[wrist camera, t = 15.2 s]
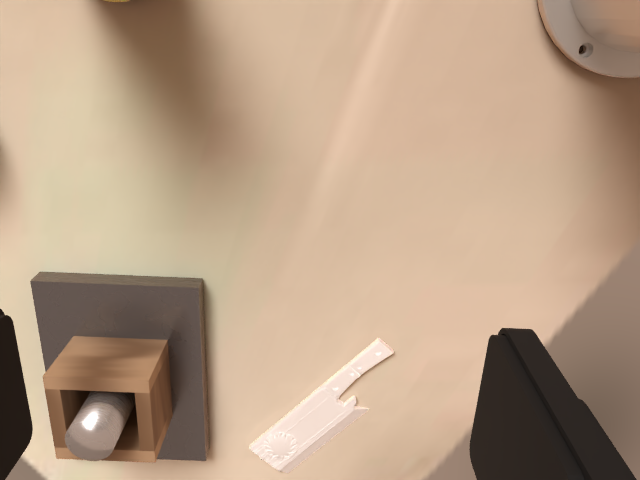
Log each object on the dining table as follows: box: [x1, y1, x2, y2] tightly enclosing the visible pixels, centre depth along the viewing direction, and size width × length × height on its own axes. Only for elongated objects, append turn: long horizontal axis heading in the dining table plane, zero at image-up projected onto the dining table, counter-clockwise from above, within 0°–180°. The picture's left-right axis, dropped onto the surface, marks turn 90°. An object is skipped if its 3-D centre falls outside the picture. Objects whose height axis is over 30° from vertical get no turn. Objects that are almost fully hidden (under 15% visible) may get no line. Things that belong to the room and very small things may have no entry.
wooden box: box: [43, 336, 173, 462], centre depth 41 cm, size 7×7×5 cm
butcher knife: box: [249, 337, 394, 473], centre depth 46 cm, size 5×15×1 cm, turn 135°
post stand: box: [30, 272, 209, 461], centre depth 41 cm, size 12×16×8 cm
